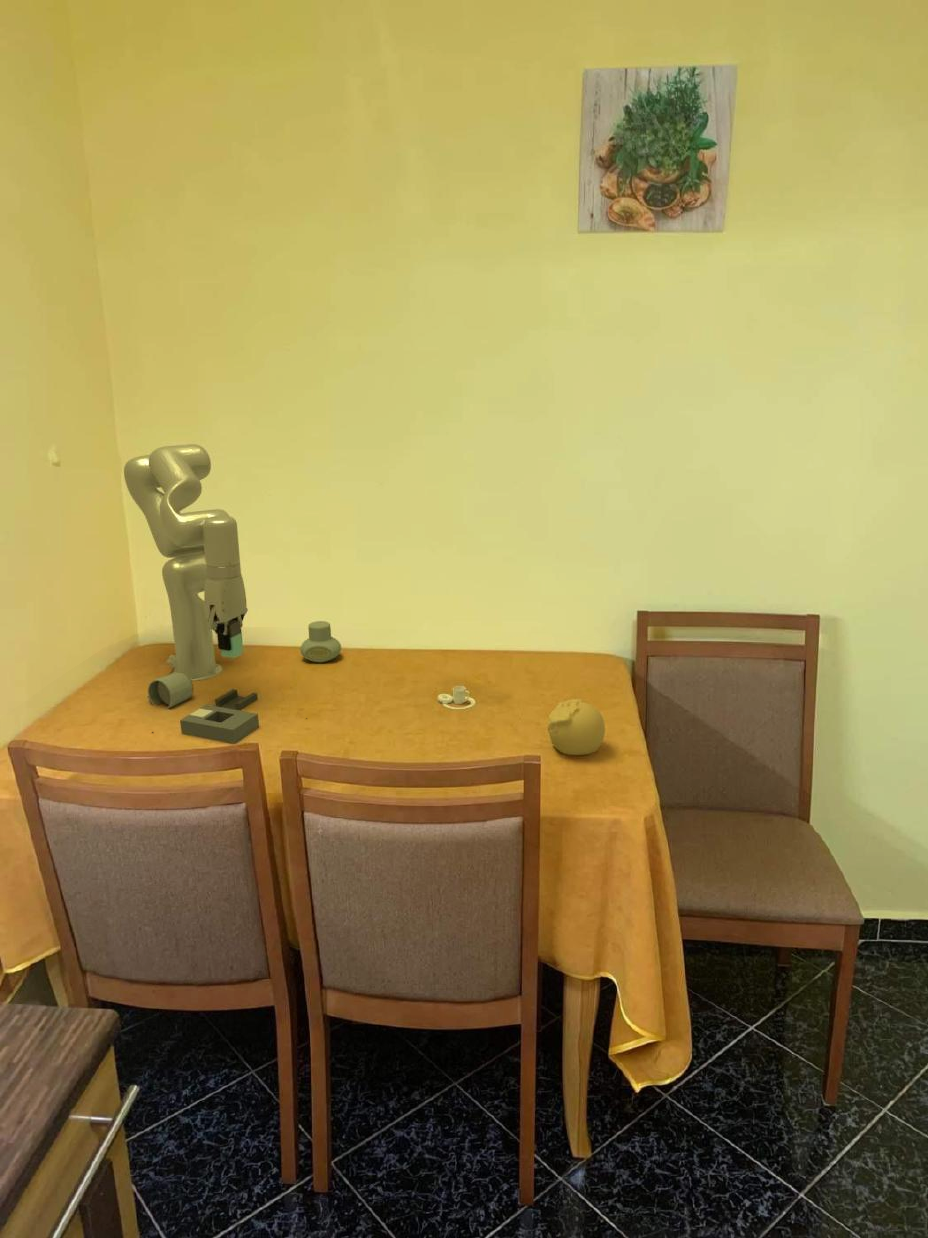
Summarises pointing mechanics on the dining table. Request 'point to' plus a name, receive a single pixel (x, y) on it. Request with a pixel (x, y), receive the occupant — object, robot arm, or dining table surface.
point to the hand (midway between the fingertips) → (230, 645)
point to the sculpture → (576, 727)
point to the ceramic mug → (170, 689)
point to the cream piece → (456, 698)
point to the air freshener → (320, 643)
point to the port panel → (219, 723)
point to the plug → (234, 639)
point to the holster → (235, 700)
